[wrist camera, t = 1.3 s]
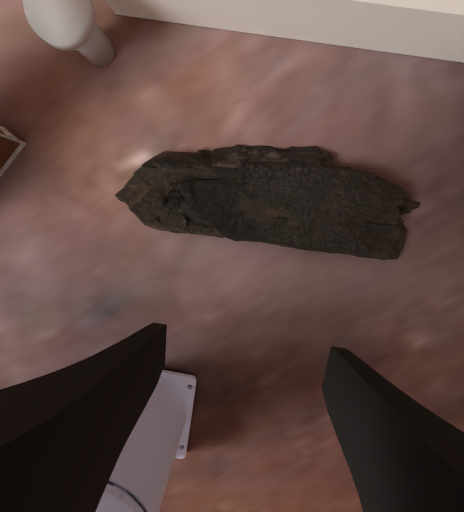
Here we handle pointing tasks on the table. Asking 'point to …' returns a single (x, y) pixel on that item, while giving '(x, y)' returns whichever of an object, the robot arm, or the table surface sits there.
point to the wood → (271, 200)
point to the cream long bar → (268, 23)
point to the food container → (9, 147)
